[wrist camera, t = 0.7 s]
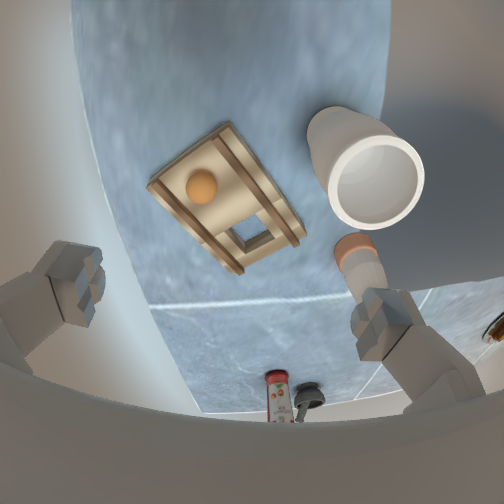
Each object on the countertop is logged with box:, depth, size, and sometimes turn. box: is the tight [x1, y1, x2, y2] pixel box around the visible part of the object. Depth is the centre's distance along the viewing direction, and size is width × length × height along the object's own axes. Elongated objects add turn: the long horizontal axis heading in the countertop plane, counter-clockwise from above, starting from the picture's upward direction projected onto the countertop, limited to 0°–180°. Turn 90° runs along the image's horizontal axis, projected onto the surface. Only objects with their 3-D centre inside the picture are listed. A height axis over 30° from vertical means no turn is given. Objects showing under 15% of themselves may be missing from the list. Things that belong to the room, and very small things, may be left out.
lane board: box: [146, 121, 307, 276], centre depth 42 cm, size 20×14×4 cm
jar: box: [307, 106, 424, 230], centre depth 31 cm, size 11×10×15 cm
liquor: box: [265, 371, 294, 423], centre depth 70 cm, size 7×7×28 cm
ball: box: [185, 172, 217, 204], centre depth 36 cm, size 4×4×4 cm
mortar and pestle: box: [294, 382, 325, 423], centre depth 85 cm, size 11×9×12 cm
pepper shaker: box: [334, 233, 389, 305], centre depth 43 cm, size 7×7×19 cm
